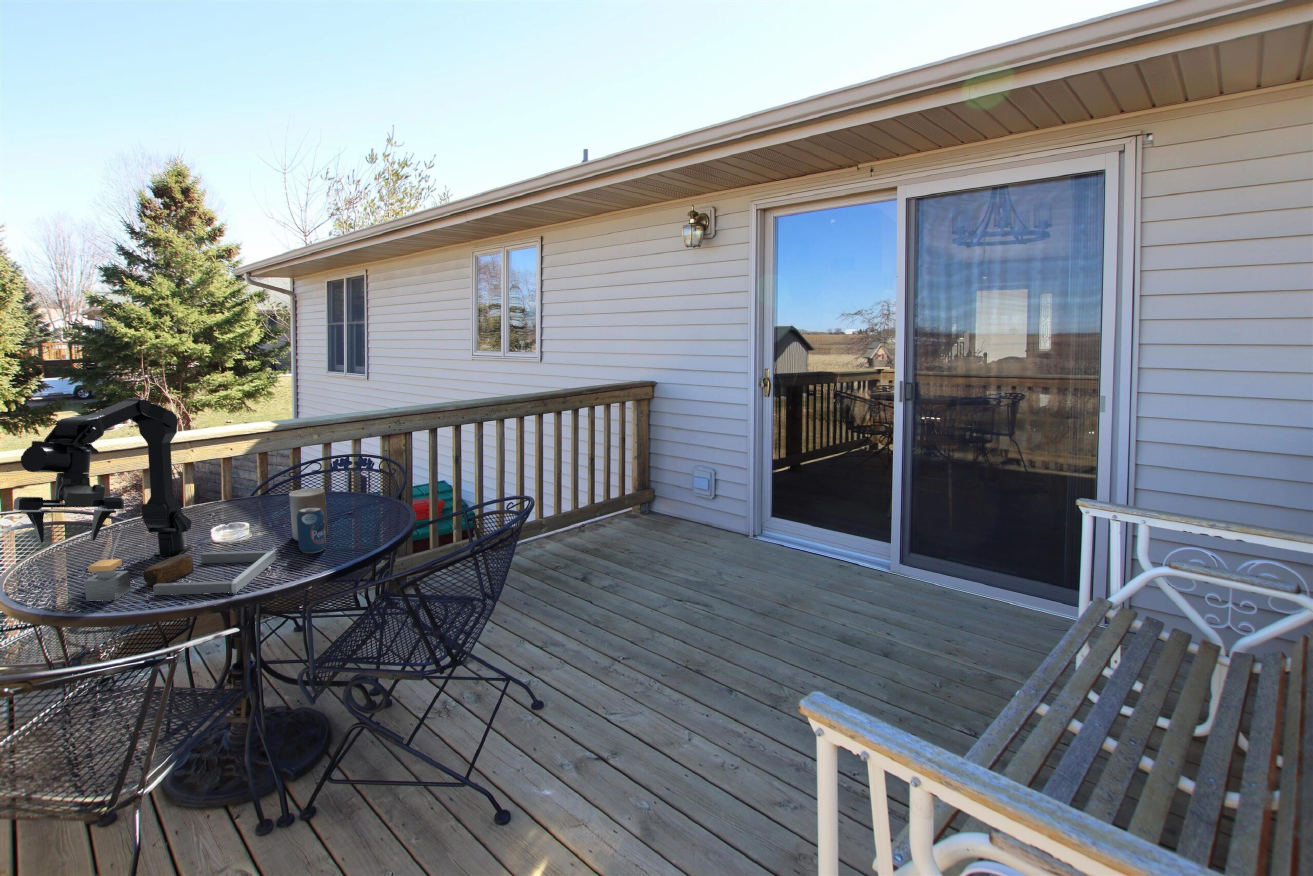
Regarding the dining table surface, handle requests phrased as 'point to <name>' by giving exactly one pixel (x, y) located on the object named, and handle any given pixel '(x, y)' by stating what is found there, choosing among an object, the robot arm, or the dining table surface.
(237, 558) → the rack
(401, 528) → the dining table surface
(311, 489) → the pillar candle
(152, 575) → the brown wedge block
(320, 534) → the soda can
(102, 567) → the button
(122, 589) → the box
